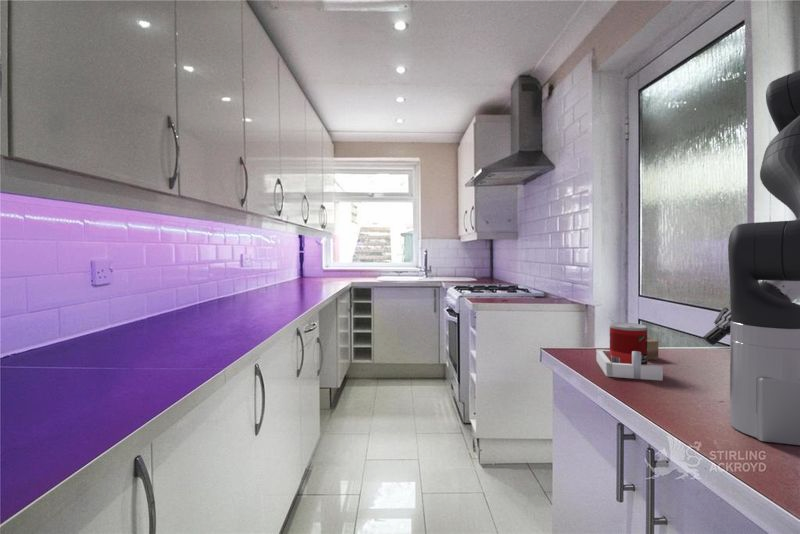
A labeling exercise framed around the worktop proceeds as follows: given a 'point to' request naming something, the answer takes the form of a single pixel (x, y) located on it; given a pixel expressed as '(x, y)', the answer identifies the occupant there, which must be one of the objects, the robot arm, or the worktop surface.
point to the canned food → (627, 342)
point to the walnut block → (652, 349)
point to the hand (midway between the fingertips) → (707, 341)
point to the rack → (628, 367)
